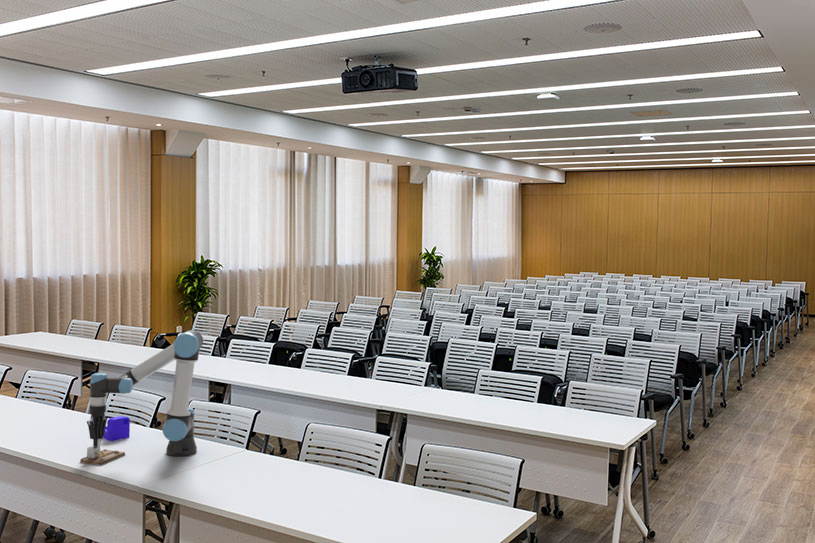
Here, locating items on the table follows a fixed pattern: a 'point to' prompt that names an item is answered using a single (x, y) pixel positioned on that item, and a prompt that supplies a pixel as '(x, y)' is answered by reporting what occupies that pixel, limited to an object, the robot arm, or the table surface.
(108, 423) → the bracket
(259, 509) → the table surface
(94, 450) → the slider with brass pointer
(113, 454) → the wooden knob panel
